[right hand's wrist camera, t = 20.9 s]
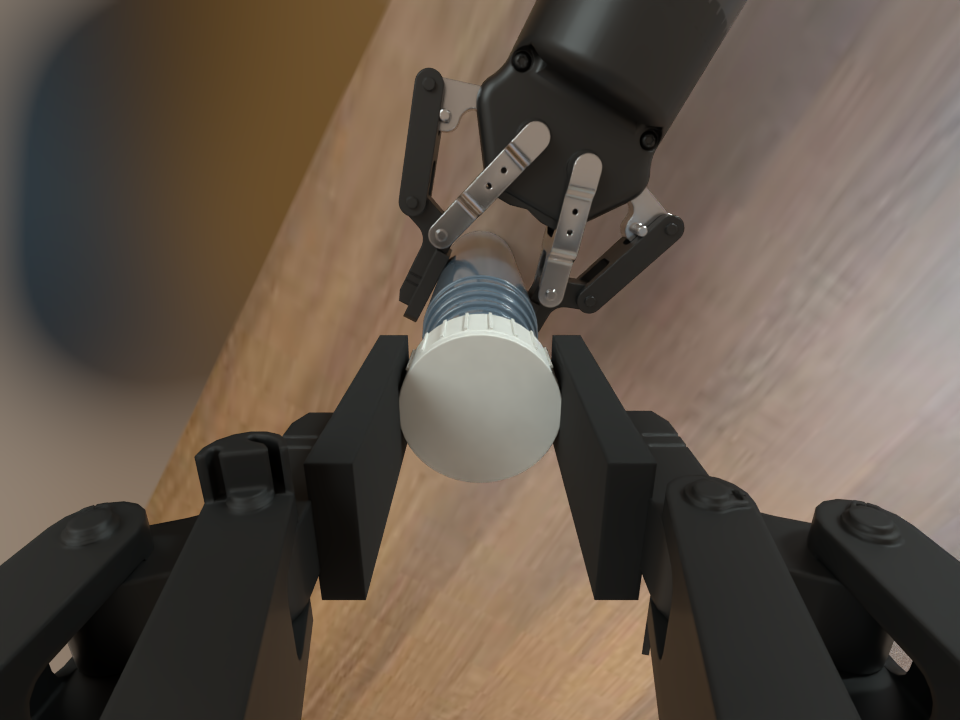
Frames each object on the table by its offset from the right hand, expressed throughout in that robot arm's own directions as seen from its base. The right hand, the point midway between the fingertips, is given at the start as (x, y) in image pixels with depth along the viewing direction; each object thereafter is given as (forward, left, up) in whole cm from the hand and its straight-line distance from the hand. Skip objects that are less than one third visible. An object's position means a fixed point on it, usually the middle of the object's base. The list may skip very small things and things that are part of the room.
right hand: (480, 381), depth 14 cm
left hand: (-3, 0, -12) cm, 12 cm away
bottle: (0, 0, -18) cm, 18 cm away
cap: (0, 0, +2) cm, 2 cm away
